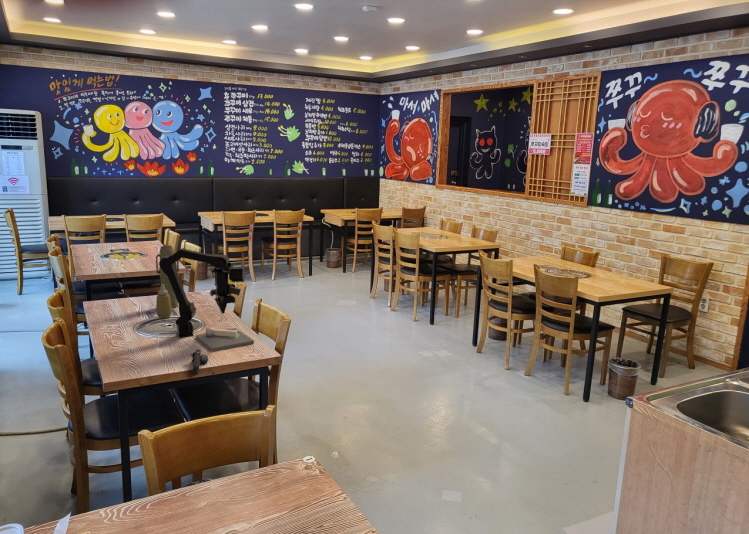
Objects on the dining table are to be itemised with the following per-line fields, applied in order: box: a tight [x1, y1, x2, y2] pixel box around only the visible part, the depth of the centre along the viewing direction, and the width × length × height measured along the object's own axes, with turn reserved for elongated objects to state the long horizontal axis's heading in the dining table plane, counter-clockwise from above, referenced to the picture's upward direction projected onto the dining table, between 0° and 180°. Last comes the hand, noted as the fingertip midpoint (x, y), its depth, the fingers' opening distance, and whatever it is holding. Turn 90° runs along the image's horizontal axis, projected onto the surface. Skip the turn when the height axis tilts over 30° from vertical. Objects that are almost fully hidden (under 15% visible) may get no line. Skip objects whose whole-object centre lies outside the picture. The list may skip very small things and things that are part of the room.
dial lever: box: [205, 326, 238, 337], centre depth 267 cm, size 15×4×3 cm, turn 81°
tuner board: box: [195, 327, 255, 352], centre depth 265 cm, size 20×22×2 cm
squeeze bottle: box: [155, 283, 173, 319], centre depth 298 cm, size 8×8×18 cm
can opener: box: [190, 348, 209, 375], centre depth 233 cm, size 18×7×6 cm, turn 10°
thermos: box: [155, 244, 180, 309], centre depth 315 cm, size 9×12×35 cm
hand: (222, 313), depth 271 cm, fingers closed
